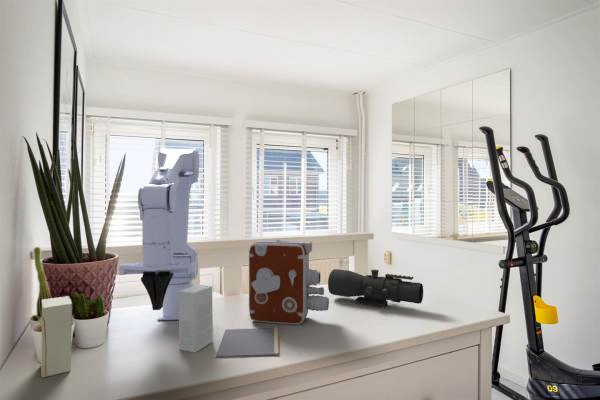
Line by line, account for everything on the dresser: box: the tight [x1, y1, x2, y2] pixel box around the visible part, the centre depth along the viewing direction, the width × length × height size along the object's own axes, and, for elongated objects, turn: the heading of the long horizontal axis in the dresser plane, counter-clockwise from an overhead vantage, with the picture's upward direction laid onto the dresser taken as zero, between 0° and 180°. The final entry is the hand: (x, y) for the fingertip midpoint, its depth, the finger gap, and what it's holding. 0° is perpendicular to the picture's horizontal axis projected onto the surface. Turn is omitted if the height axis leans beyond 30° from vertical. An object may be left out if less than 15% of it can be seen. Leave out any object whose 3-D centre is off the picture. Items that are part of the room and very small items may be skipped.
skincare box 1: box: [40, 295, 73, 379], centre depth 64 cm, size 6×4×12 cm
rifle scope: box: [327, 268, 424, 309], centre depth 102 cm, size 10×26×10 cm, turn 58°
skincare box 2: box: [178, 284, 214, 353], centre depth 74 cm, size 6×4×12 cm
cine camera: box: [248, 239, 330, 325], centre depth 89 cm, size 9×19×20 cm, turn 78°
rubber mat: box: [215, 326, 280, 359], centre depth 76 cm, size 14×12×1 cm
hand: (157, 308), depth 73 cm, fingers closed
